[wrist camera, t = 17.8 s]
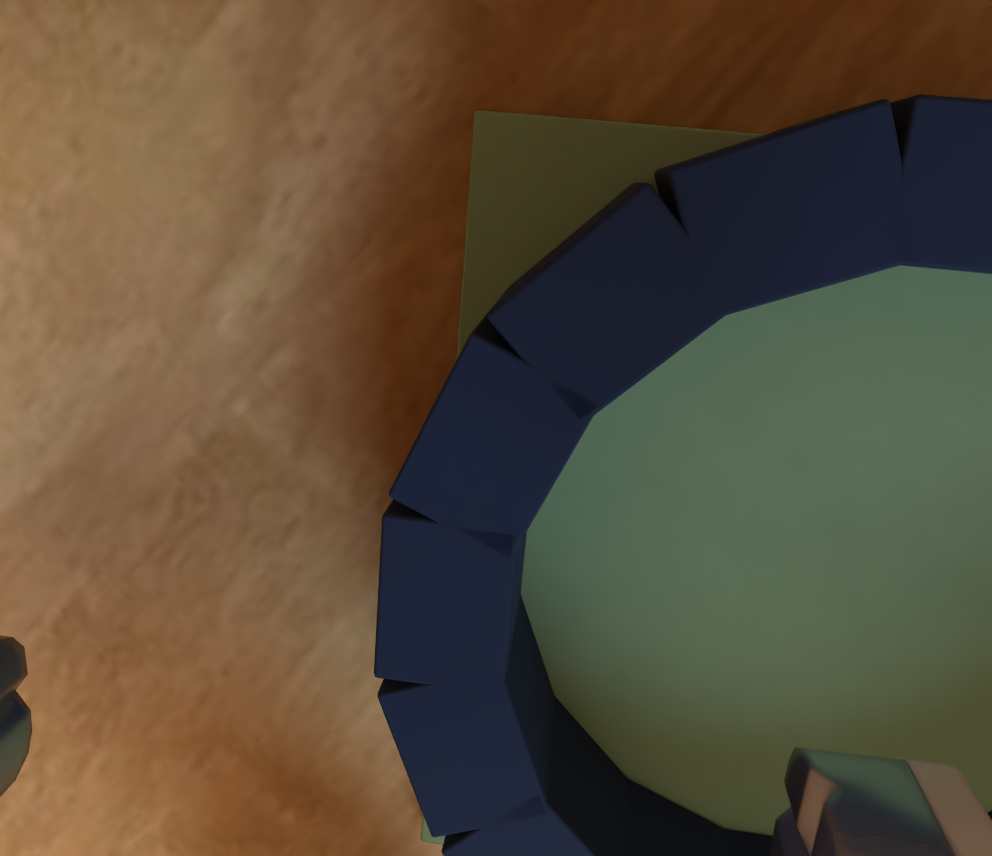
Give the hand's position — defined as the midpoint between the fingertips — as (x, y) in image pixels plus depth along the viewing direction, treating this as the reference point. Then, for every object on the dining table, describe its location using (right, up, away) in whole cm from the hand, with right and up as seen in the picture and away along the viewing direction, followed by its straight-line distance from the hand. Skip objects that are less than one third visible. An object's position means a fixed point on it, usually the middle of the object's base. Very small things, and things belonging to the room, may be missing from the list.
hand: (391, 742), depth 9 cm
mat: (+7, +1, +6) cm, 10 cm away
